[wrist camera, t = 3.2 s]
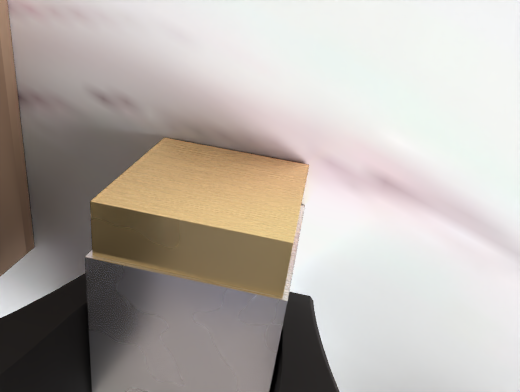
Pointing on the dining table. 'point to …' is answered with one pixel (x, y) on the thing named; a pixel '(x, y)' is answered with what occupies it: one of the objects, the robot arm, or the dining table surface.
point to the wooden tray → (11, 160)
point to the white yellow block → (192, 270)
